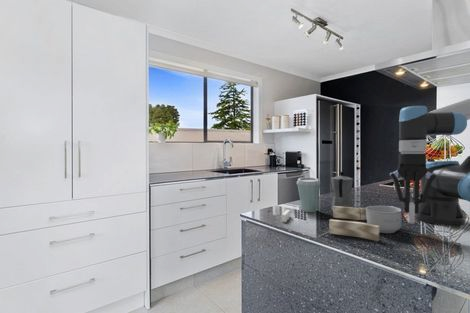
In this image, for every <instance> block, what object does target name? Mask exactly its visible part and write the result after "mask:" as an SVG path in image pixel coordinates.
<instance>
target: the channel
mask: <svg viewBox="0 0 470 313" xmlns="http://www.w3.org/2000/svg"><path fill="white" fill-rule="evenodd" d="M332 218H337V219H331V218H330V219H329V222H328V223H329V224H328V228H329V229H328V230H329V234H330V235H339V236H347V237H354V238H355V237H356V238H361V239H366V240H371V241H375V242H379V240H380V232H379V226H377V225H372V224H368V223H367V222H362V221H367V216H366V207H354V206H352V207H341V206H333V211H332ZM340 219H342V220H340ZM343 219H345V220H343ZM346 219H347V220H346ZM351 220H354V221H351ZM355 220H356V221H355ZM358 220H359V221H358Z"/></svg>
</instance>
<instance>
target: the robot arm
mask: <svg viewBox="0 0 470 313" xmlns="http://www.w3.org/2000/svg"><path fill="white" fill-rule="evenodd" d="M398 118H399V120H398V122H399V123H398V126H399V128H398V130H399V133H398V137H399V138H398V140H399V141H398V152H399V154H398V166H397V168H396V170H395V171H393V172H390V173H389V176H390V178H392V181H393V186H394V188H395V189H394V190H395V192H396V197H397V199H398V201H399V202H402V203H403V205H404V206H403V211H404V213H406V214H407V219H406V220H407V222H408V224H415V222H416V221H415V219H417V220H419V221H421V222H425V223H428V224H433V225H440V226H449V227H450V226H452V227H453V226H455V227H456V226H463V225H465V215H464V212H463V211H462V207H461V205H460V201H459V200H463V201H467V202H469V203H470V155H469V156H468V155H467V157H466V158H465V159H464V160H463V161H462V162H461V164H460V161H457V160H441V161H440V160H438V161H427V154H426V152H427V137H428V136H429V137H430V136H431V137H432V136H453V135H454V136H455V135H460V134H462V133H463V132H464V131H465V130H466V129H467V126H468V120H470V98H468V99H464V100H461V101H458V102H454V103H452V104H449V105H445V106H444V107H443V106H442V107H440V108H437V109H434V110H431V111H428V107H427V106H426V105H412V106H406V107H402V108H401V109H400V111H399V116H398ZM399 175H400V176H401V178H402V179H403V184H404V185H403V194H402V189H401V185H400V182H399V179H398V178H399ZM411 181H412V183H413V184H412V202H410V201H411V200H410V198H411Z"/></svg>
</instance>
